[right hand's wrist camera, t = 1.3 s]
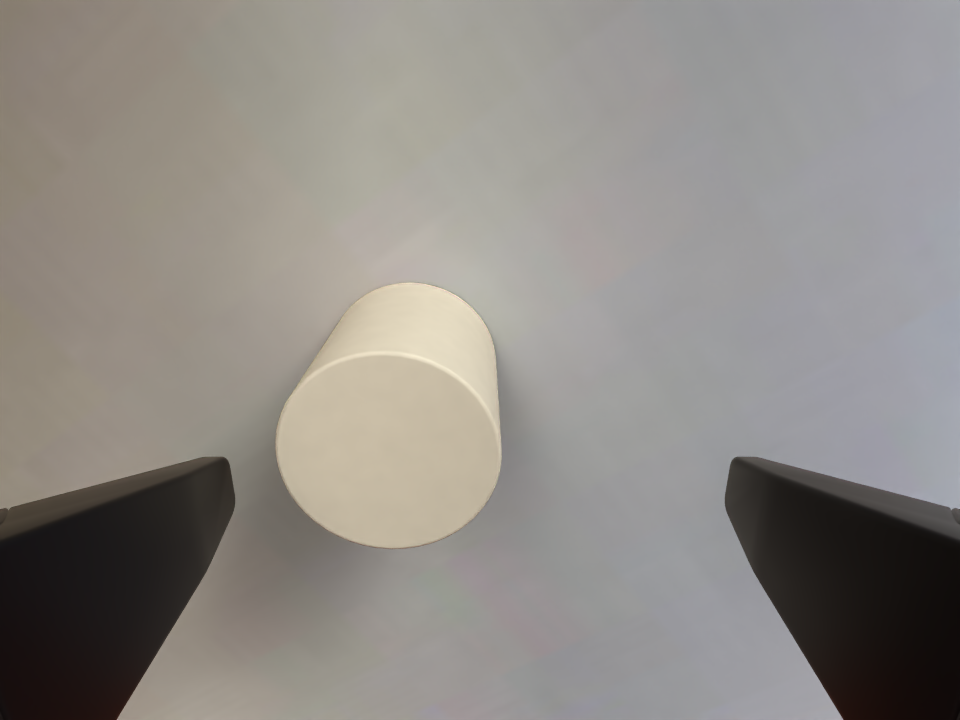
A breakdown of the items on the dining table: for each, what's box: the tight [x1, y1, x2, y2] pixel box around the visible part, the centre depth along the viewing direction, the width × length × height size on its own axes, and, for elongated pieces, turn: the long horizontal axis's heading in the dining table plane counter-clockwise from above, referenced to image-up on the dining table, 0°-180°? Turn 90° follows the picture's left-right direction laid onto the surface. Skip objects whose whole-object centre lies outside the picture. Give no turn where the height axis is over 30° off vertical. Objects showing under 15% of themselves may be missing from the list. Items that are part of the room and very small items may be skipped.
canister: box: [275, 283, 502, 549], centre depth 14 cm, size 4×4×5 cm
